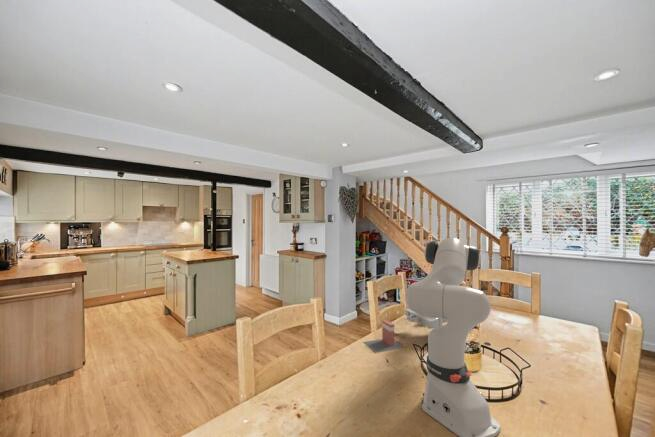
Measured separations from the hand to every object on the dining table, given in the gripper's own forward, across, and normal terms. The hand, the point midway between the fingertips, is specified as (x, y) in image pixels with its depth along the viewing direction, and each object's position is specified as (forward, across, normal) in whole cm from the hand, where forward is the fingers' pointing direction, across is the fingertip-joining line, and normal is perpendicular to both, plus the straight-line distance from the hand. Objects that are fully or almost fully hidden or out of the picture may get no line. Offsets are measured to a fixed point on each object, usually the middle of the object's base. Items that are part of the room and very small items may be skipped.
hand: (408, 319), depth 136 cm
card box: (+13, 0, +10) cm, 16 cm away
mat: (+16, +1, +10) cm, 19 cm away
